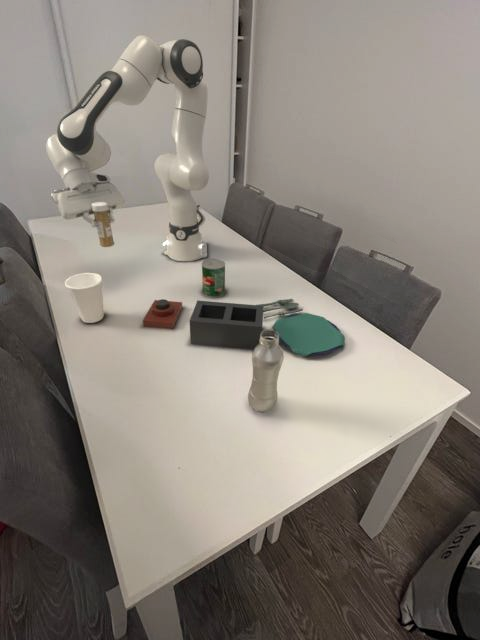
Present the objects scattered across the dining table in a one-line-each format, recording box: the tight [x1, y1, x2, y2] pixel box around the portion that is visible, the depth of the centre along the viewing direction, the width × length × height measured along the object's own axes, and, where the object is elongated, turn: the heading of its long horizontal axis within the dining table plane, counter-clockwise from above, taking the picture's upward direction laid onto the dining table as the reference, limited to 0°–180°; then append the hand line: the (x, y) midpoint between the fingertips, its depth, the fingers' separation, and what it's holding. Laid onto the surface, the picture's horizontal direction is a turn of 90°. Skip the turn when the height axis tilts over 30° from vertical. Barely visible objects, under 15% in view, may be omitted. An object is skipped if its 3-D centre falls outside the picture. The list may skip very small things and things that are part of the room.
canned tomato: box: [201, 258, 226, 298], centre depth 116 cm, size 8×8×11 cm
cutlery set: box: [258, 298, 346, 357], centre depth 102 cm, size 20×30×2 cm, turn 23°
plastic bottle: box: [247, 329, 285, 413], centre depth 72 cm, size 6×7×20 cm
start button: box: [156, 298, 169, 310], centre depth 103 cm, size 4×4×2 cm
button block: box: [142, 299, 183, 330], centre depth 104 cm, size 12×9×4 cm
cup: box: [64, 272, 104, 324], centre depth 99 cm, size 10×10×13 cm
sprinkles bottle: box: [92, 202, 115, 248], centre depth 107 cm, size 5×5×13 cm
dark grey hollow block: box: [189, 299, 265, 351], centre depth 96 cm, size 11×20×8 cm, turn 85°
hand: (104, 223), depth 106 cm, fingers closed on sprinkles bottle, 4 cm apart
